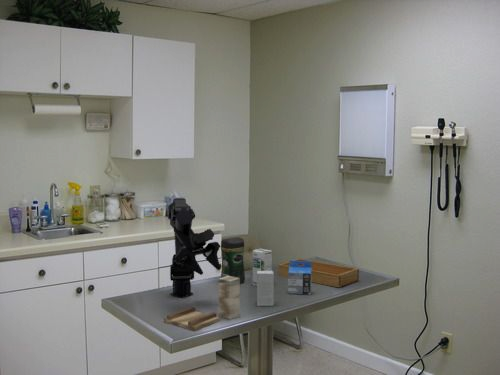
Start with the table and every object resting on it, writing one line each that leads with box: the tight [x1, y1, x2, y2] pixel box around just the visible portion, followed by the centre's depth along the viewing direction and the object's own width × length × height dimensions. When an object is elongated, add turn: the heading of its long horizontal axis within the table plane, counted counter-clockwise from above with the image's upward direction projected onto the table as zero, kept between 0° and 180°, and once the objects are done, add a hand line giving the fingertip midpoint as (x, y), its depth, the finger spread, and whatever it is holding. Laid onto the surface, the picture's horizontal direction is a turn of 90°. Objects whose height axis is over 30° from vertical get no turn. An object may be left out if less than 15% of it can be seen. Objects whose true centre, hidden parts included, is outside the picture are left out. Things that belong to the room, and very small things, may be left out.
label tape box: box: [287, 260, 312, 296], centre depth 224 cm, size 9×4×12 cm, turn 80°
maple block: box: [218, 276, 241, 320], centre depth 196 cm, size 5×5×13 cm
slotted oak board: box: [163, 306, 221, 332], centre depth 191 cm, size 14×12×2 cm
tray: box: [278, 258, 360, 288], centre depth 247 cm, size 31×15×6 cm, turn 49°
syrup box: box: [251, 248, 273, 287], centre depth 235 cm, size 6×6×14 cm
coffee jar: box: [220, 236, 246, 284], centre depth 239 cm, size 10×8×19 cm
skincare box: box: [256, 270, 275, 307], centre depth 209 cm, size 6×4×12 cm
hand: (211, 271), depth 201 cm, fingers open, 9 cm apart
